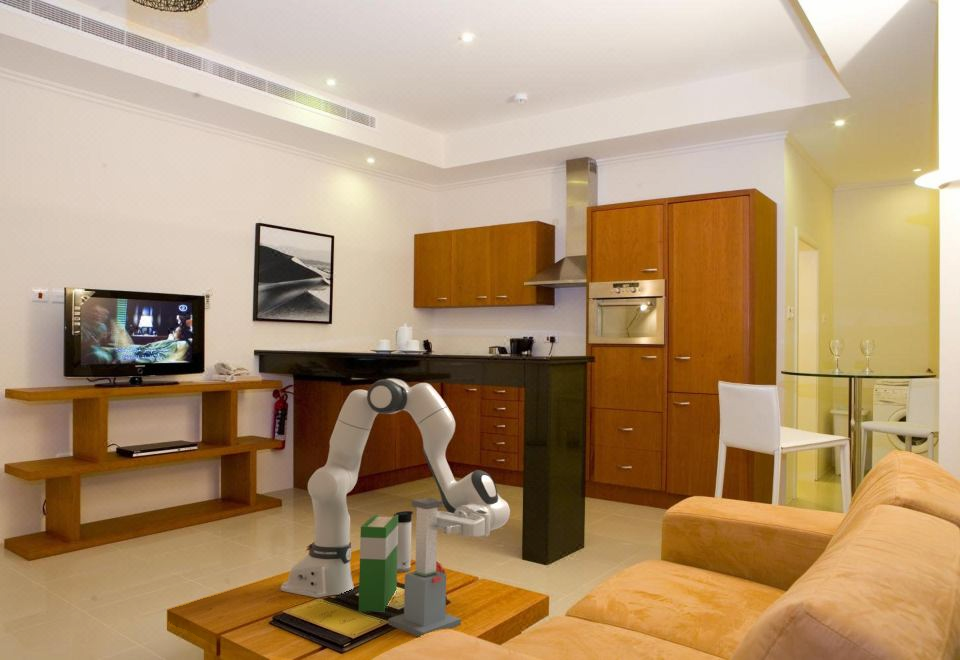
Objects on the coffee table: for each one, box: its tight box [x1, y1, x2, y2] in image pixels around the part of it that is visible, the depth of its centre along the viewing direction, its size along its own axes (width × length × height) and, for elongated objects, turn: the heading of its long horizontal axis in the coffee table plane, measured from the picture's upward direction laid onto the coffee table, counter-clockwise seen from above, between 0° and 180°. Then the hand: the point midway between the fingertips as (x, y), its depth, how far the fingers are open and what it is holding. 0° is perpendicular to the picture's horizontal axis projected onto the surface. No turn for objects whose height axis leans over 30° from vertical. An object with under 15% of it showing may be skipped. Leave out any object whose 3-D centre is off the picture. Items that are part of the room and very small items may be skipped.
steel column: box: [411, 497, 444, 578], centre depth 189 cm, size 6×6×26 cm
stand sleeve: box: [387, 570, 462, 638], centre depth 188 cm, size 14×14×14 cm
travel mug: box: [393, 510, 414, 573], centre depth 239 cm, size 6×7×20 cm
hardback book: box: [357, 513, 398, 613], centre depth 206 cm, size 18×7×24 cm, turn 175°
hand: (433, 527), depth 191 cm, fingers open, 8 cm apart
